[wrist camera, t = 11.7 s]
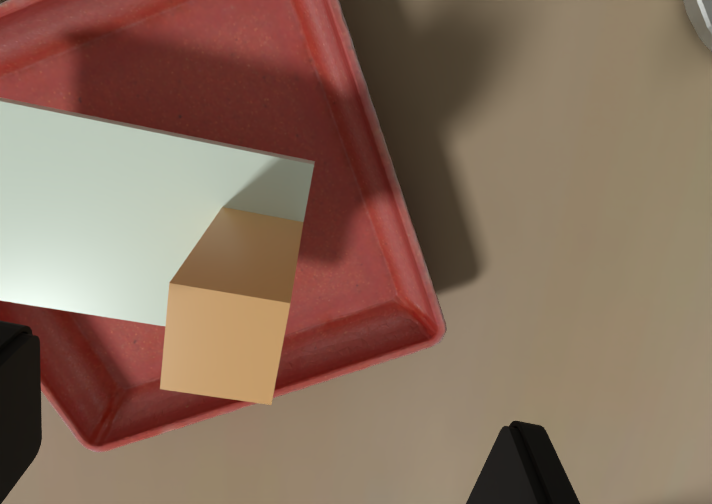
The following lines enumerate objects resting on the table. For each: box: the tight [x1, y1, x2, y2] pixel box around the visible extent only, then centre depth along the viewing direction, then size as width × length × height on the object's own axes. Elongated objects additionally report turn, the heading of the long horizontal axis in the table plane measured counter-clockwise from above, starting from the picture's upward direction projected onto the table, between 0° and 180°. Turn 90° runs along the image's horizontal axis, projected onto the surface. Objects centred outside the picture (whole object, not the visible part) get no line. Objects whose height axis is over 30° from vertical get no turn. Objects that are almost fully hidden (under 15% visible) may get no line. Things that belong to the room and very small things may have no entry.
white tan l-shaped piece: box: [0, 97, 315, 405], centre depth 16 cm, size 8×12×8 cm, turn 78°
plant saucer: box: [0, 0, 447, 452], centre depth 21 cm, size 18×18×3 cm
